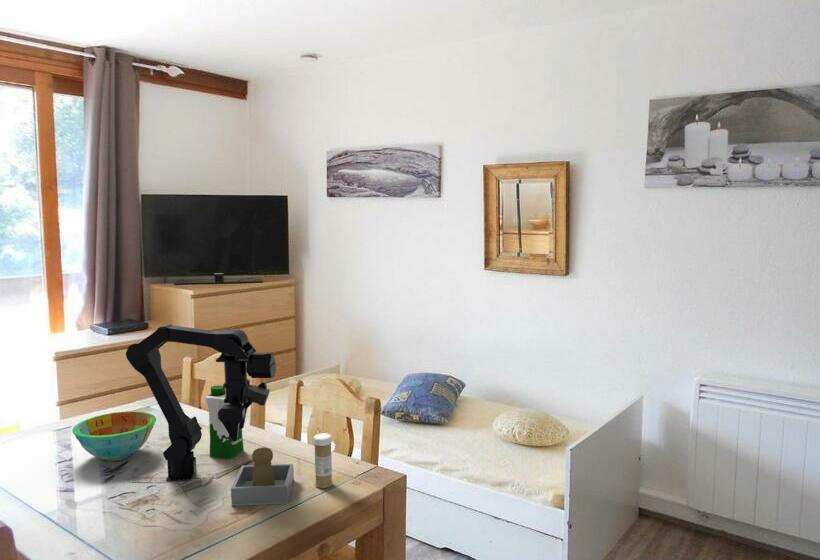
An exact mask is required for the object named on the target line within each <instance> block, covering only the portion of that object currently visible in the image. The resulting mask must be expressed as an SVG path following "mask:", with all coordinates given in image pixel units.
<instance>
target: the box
mask: <svg viewBox="0 0 820 560" xmlns="http://www.w3.org/2000/svg"><path fill="white" fill-rule="evenodd" d="M271 465H272V470H273V476H274V482H275V485H274V486H252V484H253V474H254V464H250V465H249V464H248V465H241V467H239V469H238V473H237V475H236V477H235V479H234V481H233V483H232V485H231V488H230V498H231V499H230V500H231V501H230V502H231V507H240V506H241V507H242V506H265V505H287V504H289V500H290V496H291V493H292V489H293V484H294V481H295V476H294V474H295V473H294V463H288V464H287V463H283V464H282V463H279V464H278V463H277V464H271Z"/></svg>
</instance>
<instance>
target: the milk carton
mask: <svg viewBox="0 0 820 560" xmlns="http://www.w3.org/2000/svg"><path fill="white" fill-rule="evenodd" d="M225 397H226V396H225V388H223V384H221V385H219V384H218V385H213V386H211V387H210V394H209V395H207V396H205V397H204V398H205V403H206V407H207V410H208V423H209V424H208V425H209V426H208V427H209V457H212V458H213V457H214V458H219V457H220V458H221V459H226V460H231V459H232V458H234V457H235V456H237V455H238V454H240V453H241V452H243V451H245V449H244V439H243V428H241V429H240V428H239V430H238V437H237V441H233V440H232V439H231V437H230V435H229V433H228V432H227V430H226V428H225V427H224V425H223V423H222V422H221V421H220V420H219V419H218V411H219V410H220V408H221V407H222V406H223V405H226V404H229V403H224V399H225Z"/></svg>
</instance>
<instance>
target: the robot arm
mask: <svg viewBox="0 0 820 560" xmlns="http://www.w3.org/2000/svg"><path fill="white" fill-rule="evenodd" d="M168 342H171V343H179V344H186V345H191V346H201V347H208V348H209V349H210V348H211V349H213V350H214V351H216V352H219V353H221V354H220V355H219V356H218V357H217V358H216V359H215V362H216V363H223V366H224V367H223V369H224V382H223V384H222V386H223V388H225V396H226V397H225V399H224V403H229V404H226V405H223V406H222V407H221V408H220V410H219V411H218V419H219V420H220V421H221V422H222V423H223V425H224V427H225V428H226V430H227V432H228V433H229V435H230V437H231V439H232V440H233V441H237V437H238V430H239V428H240V429H241V428H242V429H244V427H245V422H246V418H247V417H246V416H247V411H248V409H249V407H250V406H251V405H252V404H253V403H254V404H257V405H258V406H263V407H264V406H265V405H266V403H267V401H268V399H269V395H270V392H271V391H270V389H269V388H268V386H267V383H266V382H263V381H261V382H260V383H258V384H254V385H253V384H251V382H250V379H249V378H248V377H250V378H251V379H274V378H275V377H276V371H277V362H276V360H275V357H274V352H272V351H268V352H267V351H266V352H257V350H256V348H255V347H254V346H253V345H252V343H251V342H250V341H249V338H248V335H247V334H246V332H245V331H244V330H243V329H239V328H237V329H236V328H235V329H234V328H232V329H221V330H210V329H209V330H208V329H204V328H203V329H202V328H193V327H189V326H188V327H187V326H179V325H173V324H171V323H166V324H164V325H161V326H159V327H158V328H156V330H155V331H154V332H152V333H151V334H149V335H148V336H147V337H145V338H143V339H141V340H138V341H137V342H134V343H132V344H131V345H129V346H128V347H127V349H126V353H125V358H126V360H127V361H128V362H129V364H130V365H131V367H132V368H133V369H134V370H135V371H136V372H137V373H139V374H140V375H141V376H143V377H144V379H145V382H146V383H147V386H148V387H149V389H150V391H151V393H152V394H153V397H154V398H155V400H156V402H157V404H158V407H159V408H160V410H161V412H162V415H164V418H165V421H166V423H167V424H168V437H169V440H170V445H169V446H168V447H167V448H166V449H165V450H164V451H163V452H162V455H163V457H164V459H165V461H167V464H166V465H167V477H166V479H165V480H166V481H168V482H169V481H170V482H171V481H174V482H176V481H191V480H192V478H193V477H194V475H196V473H197V471H198V470H197V458H196V456H195V453H194V451H193V450H194V449H195V448H196V446H197V444H199V442H200V441H201V440H202V436H203V435H202V431H201V430H203V428H202V427H201V425H200V424H199V422H198V419H197V417H196V416H193V417H189V416H188V415H187V414H186V413H185V411H184V409H183V407H182V406H181V404H180V402H179V400H178V397H177V396H176V394H175V392H174V390H173V388H172V386H171V384H170V382H169V380H168V378H167V376H166V375H165V374H166V373H165V372H164V370H163V368H162V357H161V353H160V348H161V347H163V346H164V345H165V344H167V343H168Z"/></svg>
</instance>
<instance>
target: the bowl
mask: <svg viewBox="0 0 820 560" xmlns="http://www.w3.org/2000/svg"><path fill="white" fill-rule="evenodd" d="M156 420H157V417H156V416H155V415H154V414H152V413H150V412H145V411H132V410H131V411H130V410H129V411H128V410H126V411H117V412H110V413H104V414H100V415H99V414H98V415H96V416H93V417H90V418H87V419H84V420H82V421H80V422H78V423H77V424H75V425H74V426H73V427H72V429H71V430H72V431H71V432H72V434H73V435H74V436H75V439H76V440H77V441H78V442H79V444H80V446H81V447H82V448H83V450H84V451H85V452H87V453H89V454H90V455H91V456H93V457H96V458H98V459H102V460H105V461H108V462H109V461H110V462H111V461H113V462H114V461H115V462H116V461H120V460H124V459H127V458H129V457H130V456H131V455H132V454H135V452H137V451H138V450H139V449H141V448H142V447H143V445H145V443H146V442H147V440H148V438H149V437H150V435H151V433H152V430H153V428H154V425H155V423H156V422H157V421H156ZM126 457H127V458H126Z"/></svg>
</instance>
